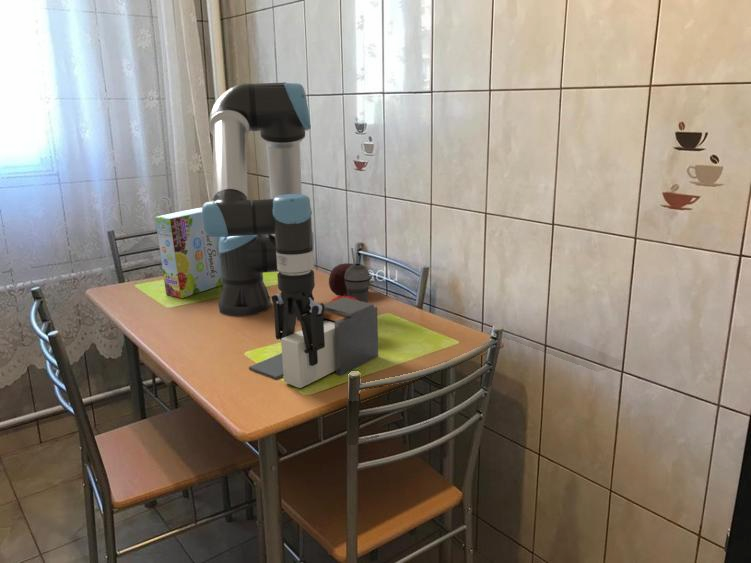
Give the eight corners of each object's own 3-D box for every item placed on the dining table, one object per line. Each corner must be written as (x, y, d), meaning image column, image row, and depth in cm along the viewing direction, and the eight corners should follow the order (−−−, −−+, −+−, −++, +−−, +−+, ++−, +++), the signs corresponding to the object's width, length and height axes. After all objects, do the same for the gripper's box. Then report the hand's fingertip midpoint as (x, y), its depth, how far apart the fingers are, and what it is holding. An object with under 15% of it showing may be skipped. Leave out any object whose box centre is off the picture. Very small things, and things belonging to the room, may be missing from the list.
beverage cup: (368, 323, 170) (366, 251, 164) (342, 321, 172) (339, 251, 166) (373, 314, 177) (372, 245, 171) (348, 313, 178) (346, 244, 173)
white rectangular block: (283, 382, 135) (280, 338, 132) (328, 360, 145) (326, 320, 142) (300, 388, 132) (297, 343, 129) (344, 366, 142) (342, 324, 139)
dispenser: (311, 365, 144) (308, 310, 140) (349, 347, 154) (347, 295, 150) (340, 375, 138) (338, 318, 134) (378, 356, 148) (377, 303, 144)
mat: (249, 369, 142) (248, 366, 142) (299, 347, 154) (299, 345, 154) (275, 379, 137) (275, 377, 137) (326, 356, 149) (326, 354, 149)
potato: (376, 295, 194) (375, 263, 191) (339, 304, 186) (338, 270, 184) (357, 287, 202) (356, 256, 199) (321, 295, 195) (320, 263, 192)
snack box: (216, 278, 216) (209, 204, 209) (233, 282, 211) (227, 206, 204) (163, 294, 199) (153, 215, 192) (180, 299, 194) (171, 217, 187)
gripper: (252, 268, 131) (260, 370, 138) (314, 282, 120) (319, 392, 127) (279, 260, 137) (285, 359, 143) (340, 273, 126) (344, 379, 132)
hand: (301, 374), depth 135 cm, fingers closed on white rectangular block, 5 cm apart
